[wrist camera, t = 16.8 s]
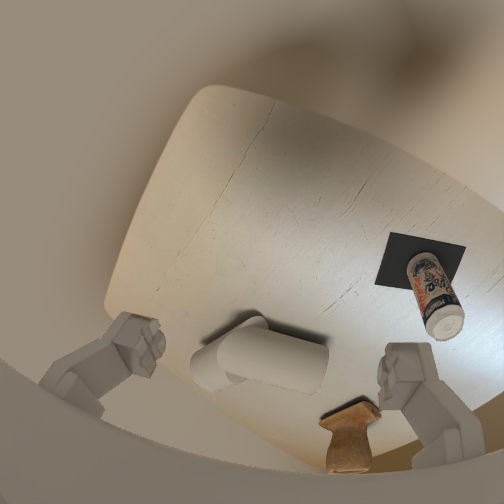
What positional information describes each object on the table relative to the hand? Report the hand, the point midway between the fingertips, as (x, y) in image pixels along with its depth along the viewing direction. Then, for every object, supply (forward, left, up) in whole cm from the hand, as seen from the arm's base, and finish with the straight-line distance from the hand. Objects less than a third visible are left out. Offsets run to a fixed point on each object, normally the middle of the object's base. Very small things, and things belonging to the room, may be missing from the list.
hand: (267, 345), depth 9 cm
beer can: (+11, +17, -26) cm, 33 cm away
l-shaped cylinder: (+31, -2, -26) cm, 40 cm away
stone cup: (+52, +20, -26) cm, 61 cm away
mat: (+11, +17, -26) cm, 33 cm away
